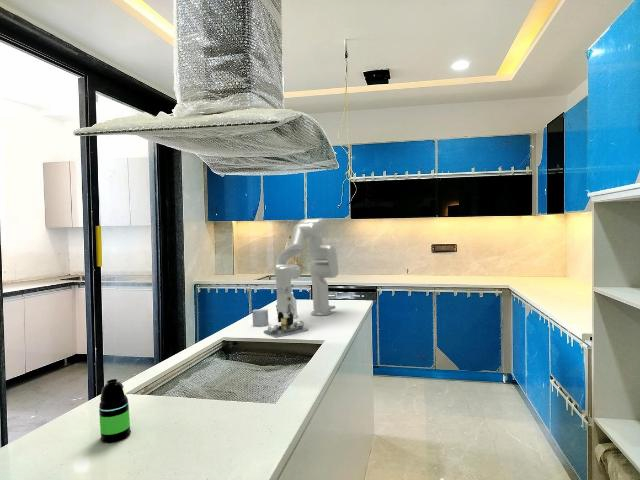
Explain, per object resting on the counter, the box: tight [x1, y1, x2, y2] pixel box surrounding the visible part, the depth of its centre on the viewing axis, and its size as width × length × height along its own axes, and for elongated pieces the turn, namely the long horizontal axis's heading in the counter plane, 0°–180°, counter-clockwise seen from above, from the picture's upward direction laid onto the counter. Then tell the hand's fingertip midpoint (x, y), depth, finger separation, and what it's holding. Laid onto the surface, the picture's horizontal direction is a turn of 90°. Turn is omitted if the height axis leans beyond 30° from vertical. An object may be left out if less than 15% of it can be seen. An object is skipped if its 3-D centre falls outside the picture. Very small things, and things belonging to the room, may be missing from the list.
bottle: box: [98, 378, 132, 444], centre depth 110 cm, size 7×7×15 cm
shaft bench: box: [263, 320, 309, 338], centre depth 214 cm, size 19×13×4 cm
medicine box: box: [251, 308, 270, 327], centre depth 231 cm, size 8×4×9 cm, turn 84°
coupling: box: [280, 317, 291, 331], centre depth 214 cm, size 5×5×6 cm
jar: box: [283, 291, 298, 320], centre depth 247 cm, size 12×10×15 cm
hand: (285, 323), depth 214 cm, fingers open, 9 cm apart
